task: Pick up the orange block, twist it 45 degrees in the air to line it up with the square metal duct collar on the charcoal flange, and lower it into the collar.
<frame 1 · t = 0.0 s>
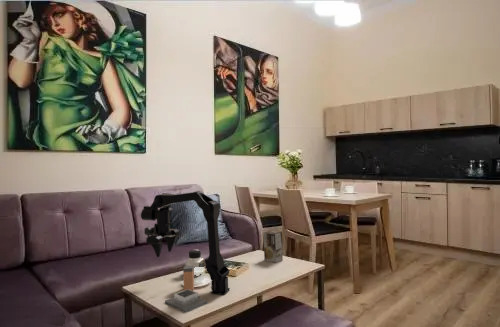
hand: (164, 254, 149), 15 cm above the table, tool pointing down, fingers open, 9 cm apart
coffee box: (273, 260, 183), on the table
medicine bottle: (195, 274, 164), on the table
orange block: (189, 289, 144), on the table
duct collar: (186, 302, 130), on the table
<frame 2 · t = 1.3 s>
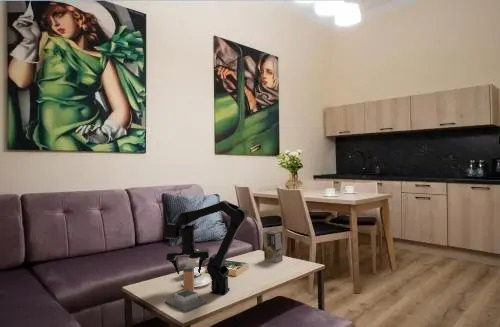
hand: (188, 273, 144), 7 cm above the table, tool pointing down, fingers open, 9 cm apart
nothing on the table moved.
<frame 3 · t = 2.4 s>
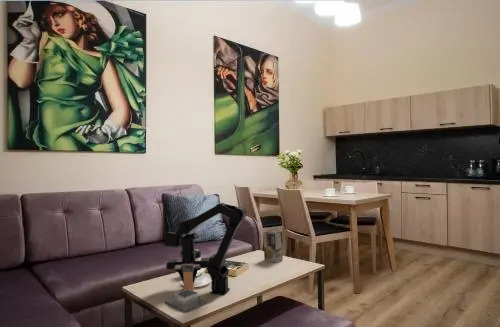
hand: (188, 282, 144), 3 cm above the table, tool pointing down, fingers closed on orange block, 4 cm apart
orange block: (189, 289, 144), on the table, touching gripper
everything else where it was.
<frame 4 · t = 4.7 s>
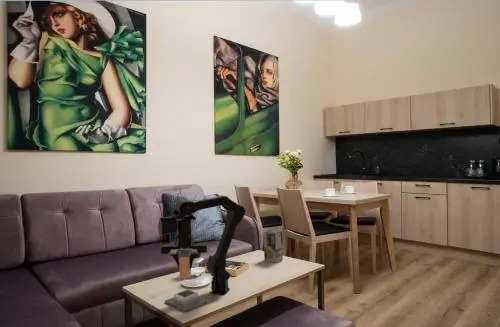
hand: (185, 269, 132), 13 cm above the table, tool pointing down, fingers closed on orange block, 4 cm apart
orange block: (185, 276, 132), point 10 cm above the table, touching gripper
everything else where it was.
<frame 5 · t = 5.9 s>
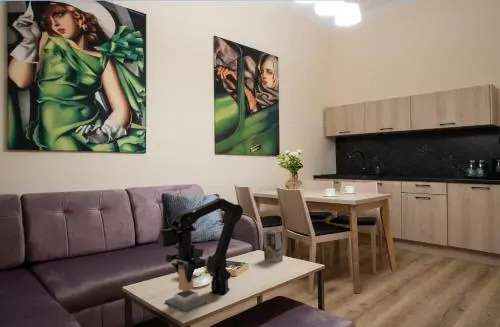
hand: (185, 281, 130), 9 cm above the table, tool pointing down, fingers closed on orange block, 4 cm apart
orange block: (186, 288, 130), point 6 cm above the table, touching gripper
everything else where it was.
when the fingers open (6 cm above the table, at t = 7.0 s): orange block drops 2 cm, resting on duct collar.
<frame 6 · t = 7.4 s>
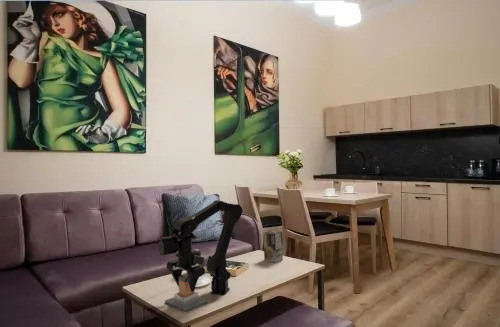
hand: (185, 288, 130), 6 cm above the table, tool pointing down, fingers open, 9 cm apart
orange block: (186, 300, 130), point 1 cm above the table, touching duct collar
everything else where it was.
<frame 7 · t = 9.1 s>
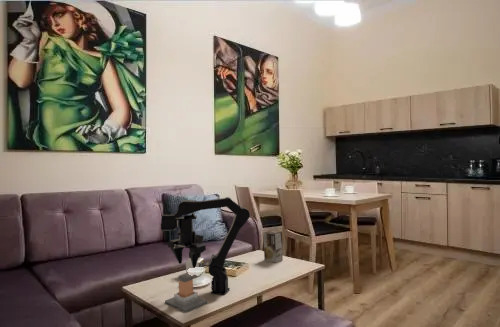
hand: (187, 265, 138), 12 cm above the table, tool pointing down, fingers open, 9 cm apart
nothing on the table moved.
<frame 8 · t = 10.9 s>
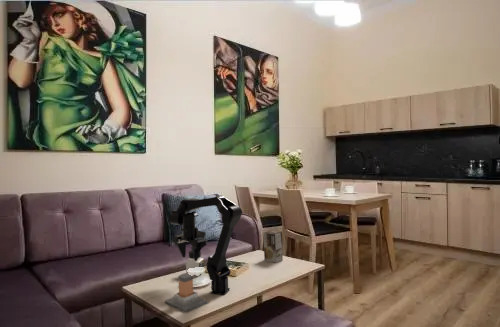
hand: (189, 259, 149), 12 cm above the table, tool pointing down, fingers open, 9 cm apart
nothing on the table moved.
at the end: orange block 0.0 cm off-centre on the duct collar, point 0.8 cm above the duct collar's base; orange block tilted 0°; the gripper is holding nothing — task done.
